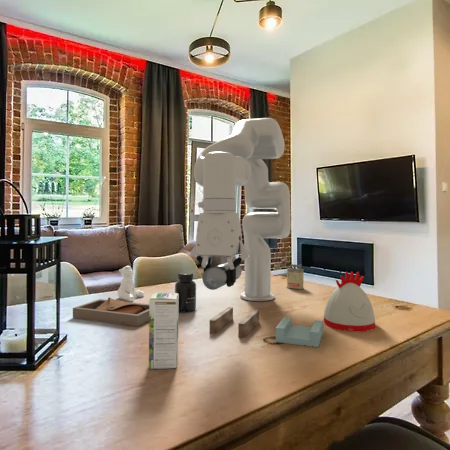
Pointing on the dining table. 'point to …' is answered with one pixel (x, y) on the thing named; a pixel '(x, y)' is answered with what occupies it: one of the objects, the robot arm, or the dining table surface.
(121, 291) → the white creature statuette
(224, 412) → the dining table surface
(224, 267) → the grey cylinder
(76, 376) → the dining table surface
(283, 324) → the cradle
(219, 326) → the wooden blocks
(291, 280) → the jerry can
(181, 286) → the supplement bottle
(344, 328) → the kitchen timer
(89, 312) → the valet tray rim
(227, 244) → the robot arm
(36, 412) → the dining table surface
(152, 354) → the syrup box
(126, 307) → the sunglasses case
